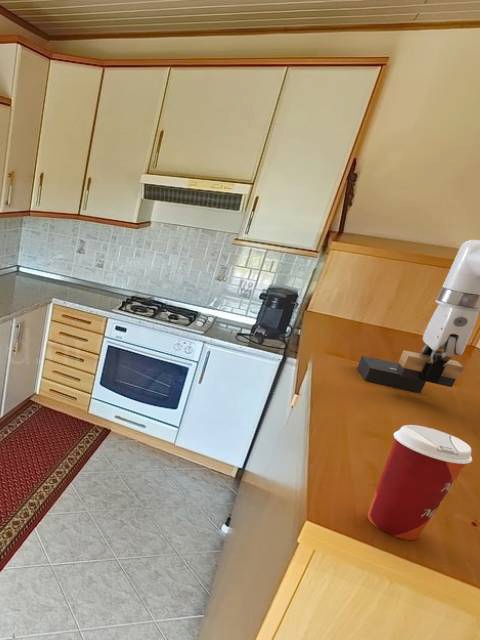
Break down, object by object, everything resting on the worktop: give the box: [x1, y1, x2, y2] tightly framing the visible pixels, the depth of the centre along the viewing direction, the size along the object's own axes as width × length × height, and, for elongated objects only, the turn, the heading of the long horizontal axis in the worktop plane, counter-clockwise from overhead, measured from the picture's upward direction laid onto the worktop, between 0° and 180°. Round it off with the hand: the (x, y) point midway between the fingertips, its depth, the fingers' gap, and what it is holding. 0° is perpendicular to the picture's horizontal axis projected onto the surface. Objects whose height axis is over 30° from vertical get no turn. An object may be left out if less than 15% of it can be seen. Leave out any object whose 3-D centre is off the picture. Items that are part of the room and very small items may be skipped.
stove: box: [356, 355, 427, 394], centre depth 123 cm, size 12×11×4 cm
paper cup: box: [367, 424, 473, 541], centre depth 65 cm, size 8×8×14 cm
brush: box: [397, 349, 465, 388], centre depth 110 cm, size 10×4×5 cm, turn 61°
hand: (424, 376), depth 111 cm, fingers closed on brush, 4 cm apart
